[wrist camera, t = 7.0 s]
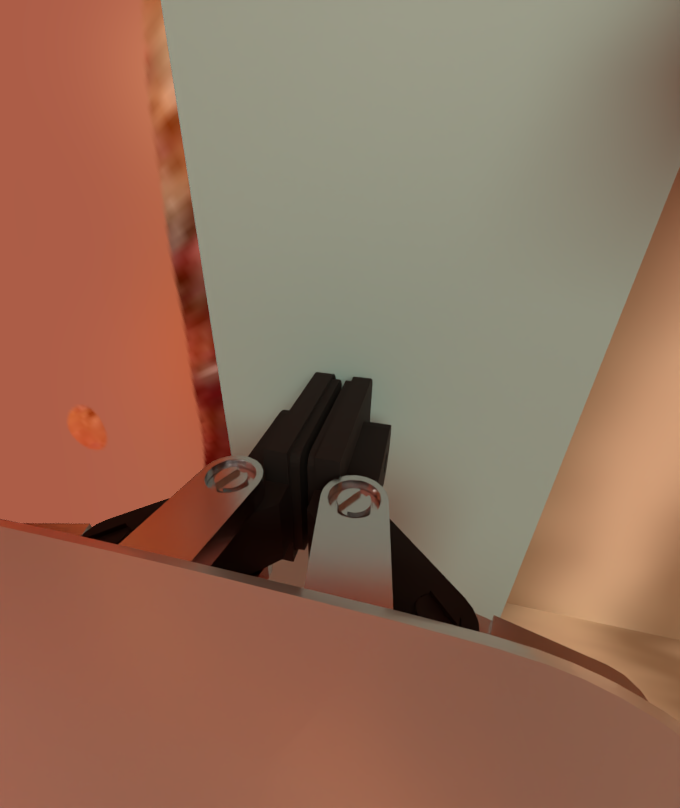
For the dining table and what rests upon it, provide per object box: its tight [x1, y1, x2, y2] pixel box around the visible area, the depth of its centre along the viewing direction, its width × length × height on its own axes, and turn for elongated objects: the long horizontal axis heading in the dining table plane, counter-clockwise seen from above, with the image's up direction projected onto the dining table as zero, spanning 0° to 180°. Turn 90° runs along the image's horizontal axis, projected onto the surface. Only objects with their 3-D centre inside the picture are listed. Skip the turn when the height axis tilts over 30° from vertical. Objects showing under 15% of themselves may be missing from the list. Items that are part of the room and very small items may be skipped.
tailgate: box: [161, 0, 680, 620], centre depth 12 cm, size 2×21×11 cm
